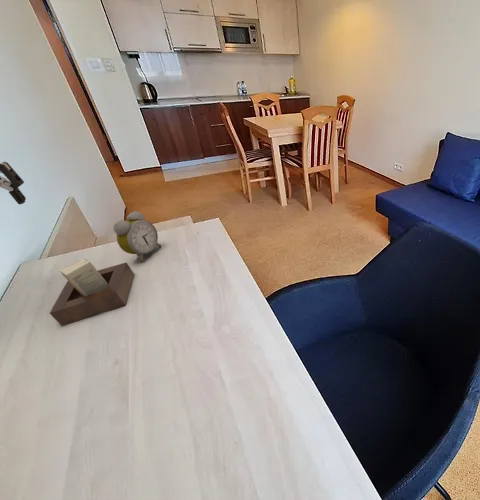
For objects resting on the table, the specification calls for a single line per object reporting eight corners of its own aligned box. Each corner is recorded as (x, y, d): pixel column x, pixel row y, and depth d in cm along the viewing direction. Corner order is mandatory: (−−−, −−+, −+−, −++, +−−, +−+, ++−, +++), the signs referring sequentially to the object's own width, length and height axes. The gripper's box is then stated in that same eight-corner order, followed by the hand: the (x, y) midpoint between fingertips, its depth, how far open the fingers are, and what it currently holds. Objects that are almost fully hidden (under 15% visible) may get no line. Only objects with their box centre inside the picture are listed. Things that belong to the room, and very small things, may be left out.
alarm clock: (143, 264, 101) (119, 226, 92) (126, 264, 102) (100, 226, 94) (165, 244, 110) (145, 208, 101) (149, 244, 111) (128, 208, 103)
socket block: (61, 326, 81) (49, 313, 78) (79, 290, 93) (68, 278, 90) (125, 305, 85) (116, 292, 82) (134, 274, 97) (126, 262, 94)
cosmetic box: (109, 288, 92) (84, 257, 85) (116, 293, 90) (91, 260, 83) (86, 302, 88) (58, 270, 81) (93, 307, 86) (64, 275, 79)
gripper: (-5, 135, 74) (41, 195, 84) (-80, 147, 71) (-23, 209, 80) (-23, 142, 68) (29, 205, 78) (-105, 156, 65) (-40, 221, 74)
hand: (3, 207), depth 79 cm, fingers open, 8 cm apart
